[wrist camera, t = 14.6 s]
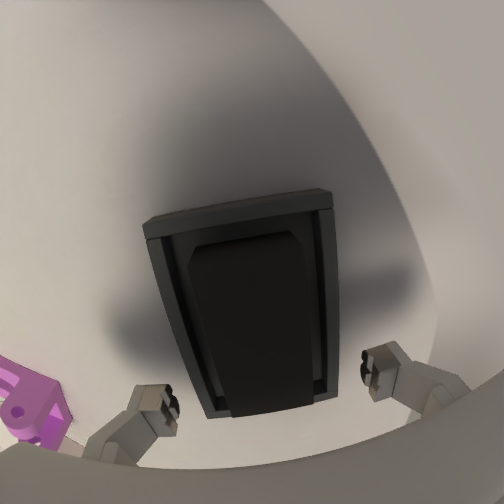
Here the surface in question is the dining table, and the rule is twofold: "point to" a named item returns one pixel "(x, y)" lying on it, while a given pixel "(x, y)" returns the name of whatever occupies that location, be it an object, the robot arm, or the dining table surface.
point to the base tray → (236, 227)
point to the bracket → (32, 406)
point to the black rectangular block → (256, 320)
